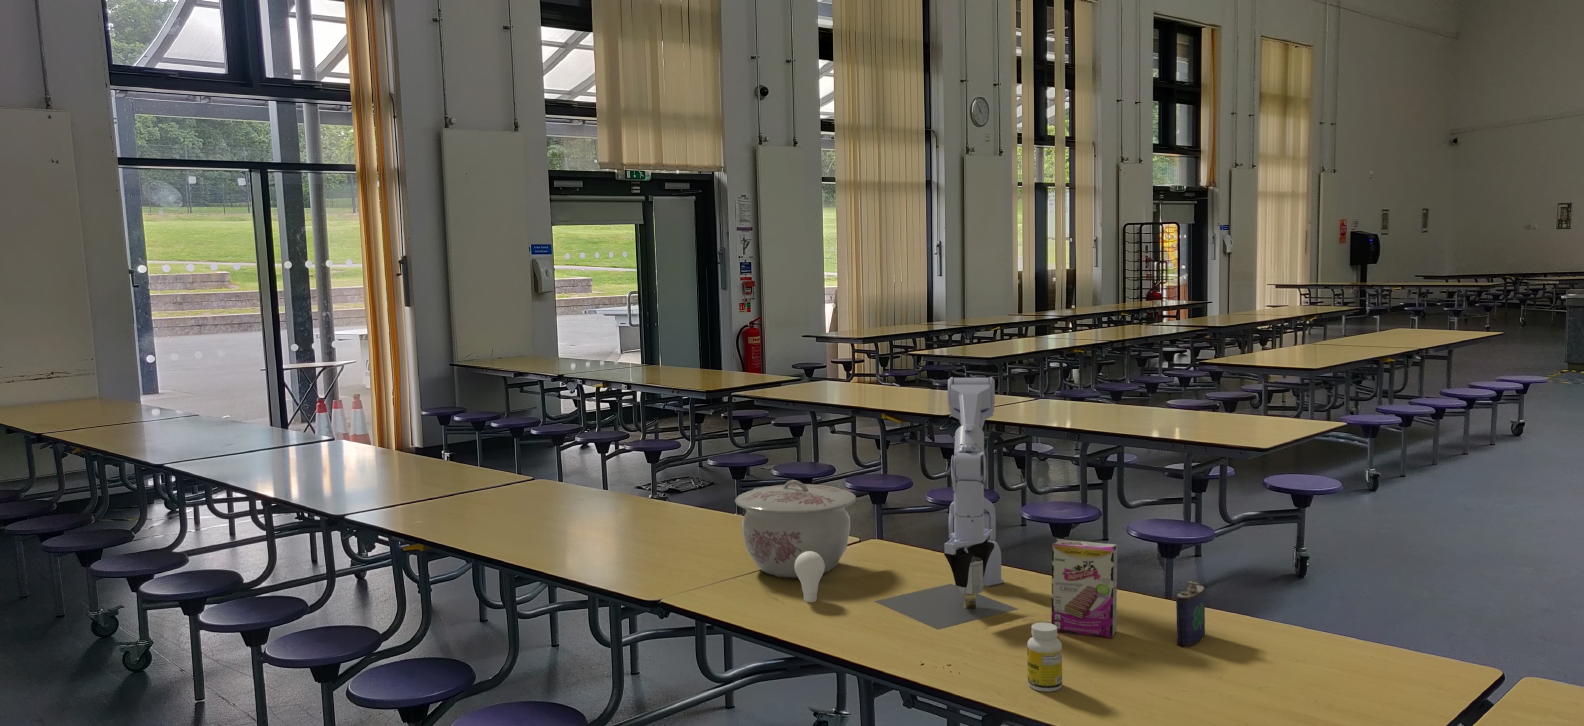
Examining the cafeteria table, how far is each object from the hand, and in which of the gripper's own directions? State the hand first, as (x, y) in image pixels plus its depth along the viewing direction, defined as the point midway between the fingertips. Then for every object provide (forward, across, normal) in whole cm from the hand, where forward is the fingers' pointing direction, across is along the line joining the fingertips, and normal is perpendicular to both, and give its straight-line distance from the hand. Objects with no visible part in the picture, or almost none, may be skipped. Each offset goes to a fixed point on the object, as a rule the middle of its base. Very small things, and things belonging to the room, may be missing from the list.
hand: (969, 582), depth 200 cm
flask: (+6, -11, +39) cm, 41 cm away
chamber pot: (+6, -2, -46) cm, 47 cm away
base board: (+6, +2, -5) cm, 8 cm away
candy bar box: (+6, -4, +22) cm, 23 cm away
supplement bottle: (+6, +23, +28) cm, 37 cm away
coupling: (+2, 0, 0) cm, 2 cm away
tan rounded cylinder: (+5, 0, 0) cm, 5 cm away
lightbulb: (+6, +16, -28) cm, 32 cm away
